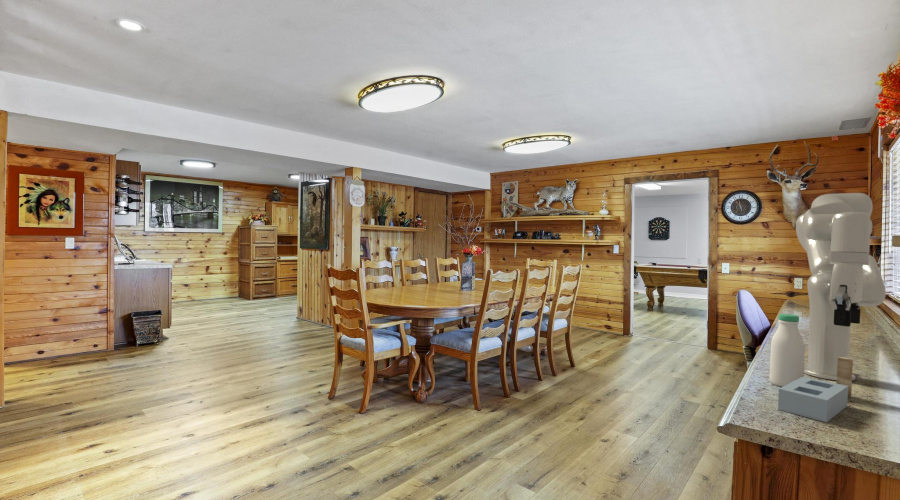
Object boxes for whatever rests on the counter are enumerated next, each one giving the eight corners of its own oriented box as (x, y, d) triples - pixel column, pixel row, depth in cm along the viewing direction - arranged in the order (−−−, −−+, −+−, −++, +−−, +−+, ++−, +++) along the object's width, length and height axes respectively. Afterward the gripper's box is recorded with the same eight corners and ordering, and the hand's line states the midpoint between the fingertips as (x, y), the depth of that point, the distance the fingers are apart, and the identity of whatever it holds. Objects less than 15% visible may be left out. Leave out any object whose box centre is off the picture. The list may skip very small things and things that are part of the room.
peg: (837, 393, 118) (839, 356, 118) (852, 396, 115) (854, 359, 115) (834, 395, 116) (836, 358, 116) (849, 398, 114) (851, 360, 113)
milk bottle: (809, 390, 120) (812, 317, 119) (778, 388, 121) (780, 316, 121) (793, 381, 127) (796, 313, 127) (763, 379, 129) (766, 311, 128)
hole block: (802, 395, 116) (802, 376, 115) (847, 406, 108) (848, 385, 108) (777, 409, 105) (778, 388, 105) (826, 422, 98) (827, 400, 98)
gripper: (839, 259, 123) (837, 319, 123) (821, 258, 113) (818, 324, 113) (876, 260, 117) (873, 324, 117) (860, 259, 107) (858, 329, 107)
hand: (846, 324), depth 115 cm, fingers open, 9 cm apart
